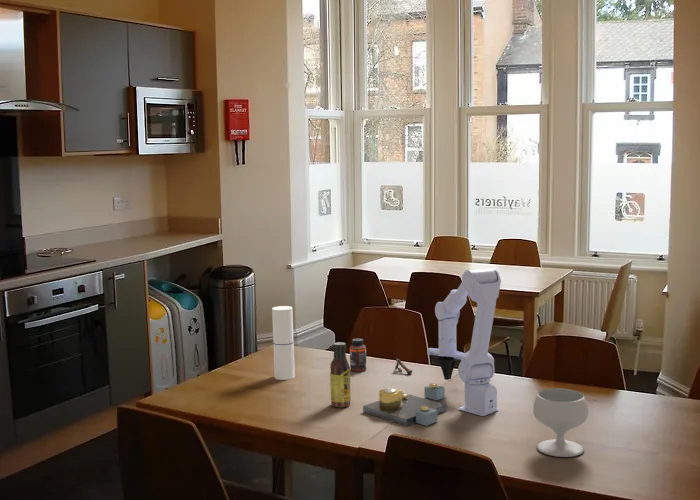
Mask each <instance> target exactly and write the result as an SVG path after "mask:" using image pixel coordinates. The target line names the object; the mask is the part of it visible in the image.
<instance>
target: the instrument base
mask: <svg viewBox="0 0 700 500" xmlns="http://www.w3.org/2000/svg"><path fill="white" fill-rule="evenodd" d="M378 398H379V399H378V400H376V401H373V402H371V403H368V404H367V403H366V404H365V405H362V412H363V413H364V414H368V415H370V416H374V417H377V418H381V419H384V420H387V421H389V422H393V423H396V424H399V423H400V424H399V425H403V426H405V425H406V426H407V427H408V426H410V424H411V425H413V424H415V423H416V411H418V410H420V407H421V406H429V408H431V409H435V410H438V415H440V414H443V413H445V412H447V410H448V409H447V408H448V407H447V404H445V403H443V402H438V401H436V400H432V399H429V398H425V397H420V396H416V395H413V394H410V393H407V392H403V390H402V389H399V388H395V387H386V388H382V389H380V390H378ZM442 412H443V413H442ZM416 424H417V423H416Z"/></svg>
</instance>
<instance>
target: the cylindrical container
mask: <svg viewBox="0 0 700 500" xmlns="http://www.w3.org/2000/svg"><path fill="white" fill-rule="evenodd" d="M293 315H294V314H293V306H291V305H290V306H289V305H278V306H273V307H272V308H271V317H272V341H273V344H272V346H273V365H274V366H273V370H274V371H273V372H274V379H275V380H279V381H287V380H292V379H294V378H295V377H296V375H295V371H296V370H295V348H294V346H295V345H294V343H295V342H294V319H293V318H294V316H293Z"/></svg>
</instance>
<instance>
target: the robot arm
mask: <svg viewBox="0 0 700 500" xmlns="http://www.w3.org/2000/svg"><path fill="white" fill-rule="evenodd" d="M501 283H502V280H501V276H500V273H499V271H498V270H497V268H495V267H490V268H482V269H479V268H478V269H466V270H465V271H464V273H463V274H462V275H461V283H460V285H459V286H458V287H457V289H451V290H450V292H449V294H448V295H447V296H446V298H445V299H444V300H443V301H437V302H436V304H435V307H434V313H435V317H436V318H437V320H438V348H435V347H434V348H433V347H429V348H427V350H426V351H427V352H426V355H428V356H438V358H437V359H436V360H437V363H438V364H439V366H440V368H441V371H442V375H443V378H444V380H446V381H449V380H451V379H452V375H453V373H454V368H455V366H456V365H457V362H458V360H460V362H459V364H458V367H457V369H458V370H457V372H458V376H459V378H460V379H461V381H462V382H464V405H463V406H461V407H458V410H459V411H463V412H466V413H470V414H473V415H477V416H480V417H485V416H487V415H490V414H493V413H495V412H498V411H499V408H498V391H497V387H496V386H495V385H493V384H491V383H490V382H491V379H492V378H493V377H494V375H495V359H494V356H492V354H491V353H489V347H490V341H491V335H492V328H493V323H494V317H495V312H496V306H497V305H496V304H497V299H498V298H499V294H500V290H501V289H500V288H501ZM468 296H469V298H470V299H471V301H472V302H475V303H476V311H475V316H474V317H475V318H474V322H473V323H474V324H473V329H472V335H471V340H470V341H471V343H470V349H469V350H467V352H465V353H464V352H462V351H459V350H457V325H458V323H459V318H460V315H461V311H460V310H461V309H462V308H463V307H464V306H465V304H466V303H467V301H468V298H467V297H468Z"/></svg>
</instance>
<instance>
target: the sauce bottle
mask: <svg viewBox="0 0 700 500" xmlns="http://www.w3.org/2000/svg"><path fill="white" fill-rule="evenodd" d="M332 348H333V359H332V361H331V363H330V373H329V374H330V375H329V377H330V379H329V381H330V386H329V387H330V402H331V403H330V405H331V406H332V407H333V408H338V409H339V408H341V409H342V408H346V407H349V406H350V405H351V400H352V399H351V369H350V363H349V362H348V359H347V355H346V352H347V351H346V348H347V344H346V342H341V341H340V342H339V341H337V342H334V343H332Z"/></svg>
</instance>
